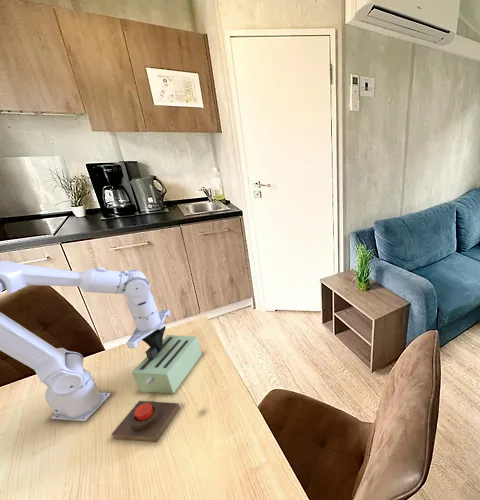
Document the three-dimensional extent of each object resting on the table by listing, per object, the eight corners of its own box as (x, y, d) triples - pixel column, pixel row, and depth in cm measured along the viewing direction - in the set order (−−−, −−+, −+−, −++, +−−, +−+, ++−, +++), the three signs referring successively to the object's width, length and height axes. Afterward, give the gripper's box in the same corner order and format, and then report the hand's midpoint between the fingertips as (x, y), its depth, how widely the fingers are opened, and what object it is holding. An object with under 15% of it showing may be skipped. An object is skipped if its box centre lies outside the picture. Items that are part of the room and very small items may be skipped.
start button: (132, 420, 70) (130, 415, 69) (143, 407, 73) (141, 402, 72) (146, 421, 69) (144, 416, 69) (156, 408, 73) (155, 403, 72)
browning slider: (147, 358, 82) (145, 352, 81) (152, 353, 84) (150, 346, 82) (153, 359, 82) (151, 352, 81) (158, 354, 83) (156, 347, 82)
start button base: (113, 438, 69) (108, 429, 67) (141, 405, 77) (137, 395, 75) (157, 441, 68) (153, 432, 66) (180, 407, 76) (177, 398, 75)
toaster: (135, 396, 79) (126, 376, 76) (173, 352, 94) (167, 334, 91) (169, 398, 79) (162, 378, 75) (202, 354, 94) (197, 336, 91)
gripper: (139, 330, 72) (153, 369, 78) (174, 298, 85) (185, 333, 91) (112, 328, 72) (129, 368, 78) (152, 297, 86) (164, 332, 91)
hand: (157, 349), depth 84 cm, fingers closed
